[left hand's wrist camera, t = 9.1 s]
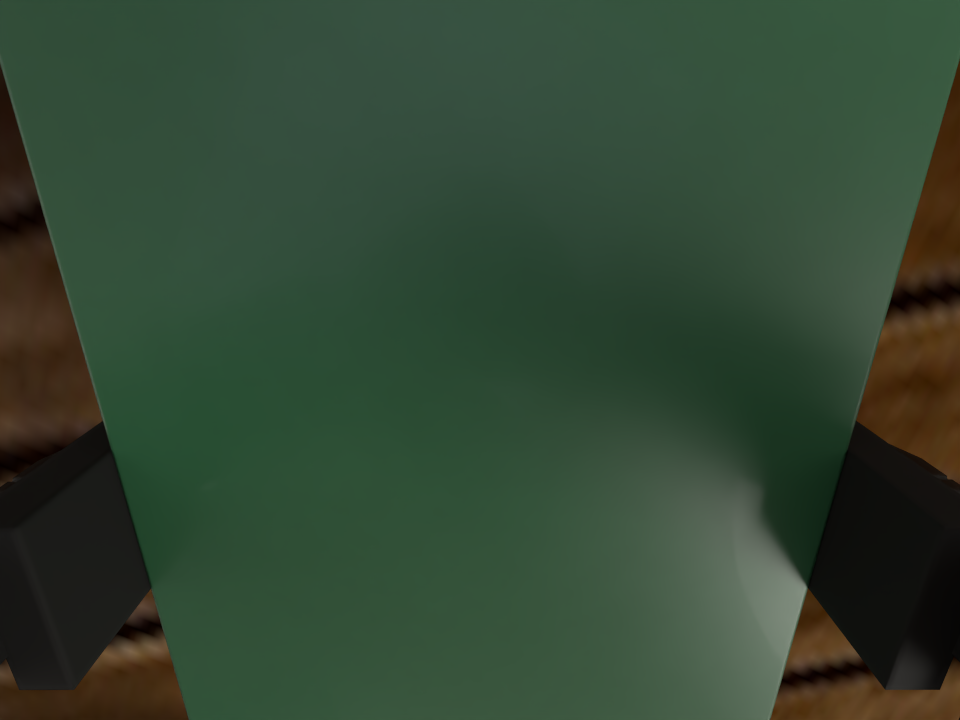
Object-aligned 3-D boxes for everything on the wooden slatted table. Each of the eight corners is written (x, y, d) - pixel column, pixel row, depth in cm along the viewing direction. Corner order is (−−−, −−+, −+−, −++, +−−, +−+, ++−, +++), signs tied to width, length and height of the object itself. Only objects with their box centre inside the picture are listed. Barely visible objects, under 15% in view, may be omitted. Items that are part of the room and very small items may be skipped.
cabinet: (240, -339, 13) (-642, -2131, 3) (718, -338, 13) (1591, -2115, 3) (330, 446, 20) (189, 732, 10) (628, 446, 20) (770, 731, 10)
